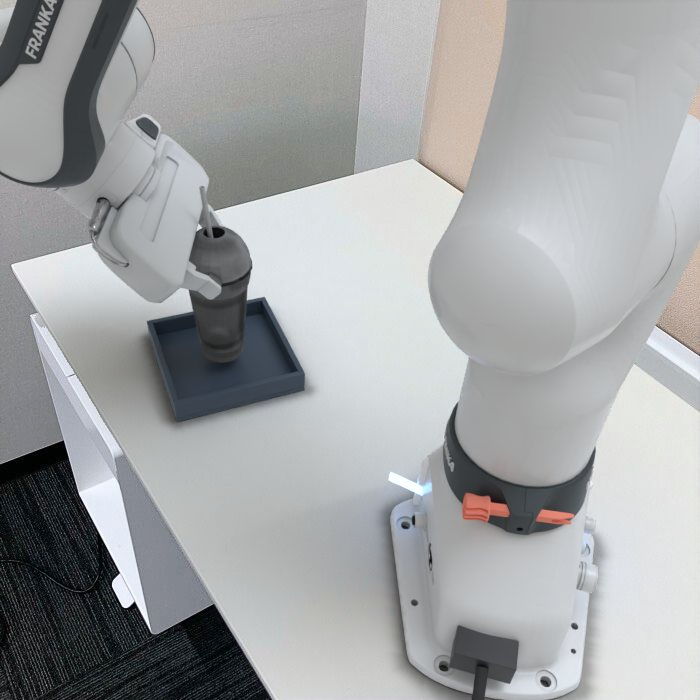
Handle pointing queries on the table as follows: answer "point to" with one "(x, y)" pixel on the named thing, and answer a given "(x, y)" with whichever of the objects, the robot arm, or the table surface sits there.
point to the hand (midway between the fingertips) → (222, 265)
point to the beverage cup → (230, 305)
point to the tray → (224, 364)
